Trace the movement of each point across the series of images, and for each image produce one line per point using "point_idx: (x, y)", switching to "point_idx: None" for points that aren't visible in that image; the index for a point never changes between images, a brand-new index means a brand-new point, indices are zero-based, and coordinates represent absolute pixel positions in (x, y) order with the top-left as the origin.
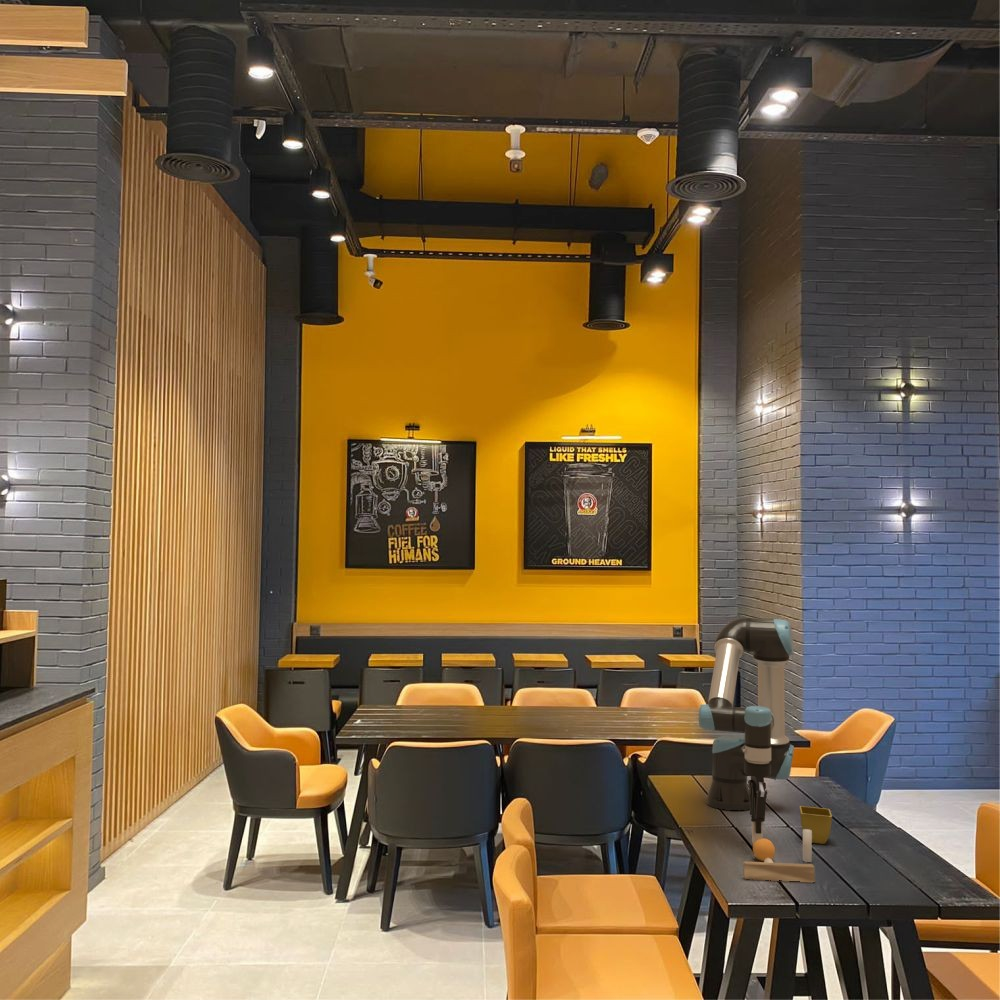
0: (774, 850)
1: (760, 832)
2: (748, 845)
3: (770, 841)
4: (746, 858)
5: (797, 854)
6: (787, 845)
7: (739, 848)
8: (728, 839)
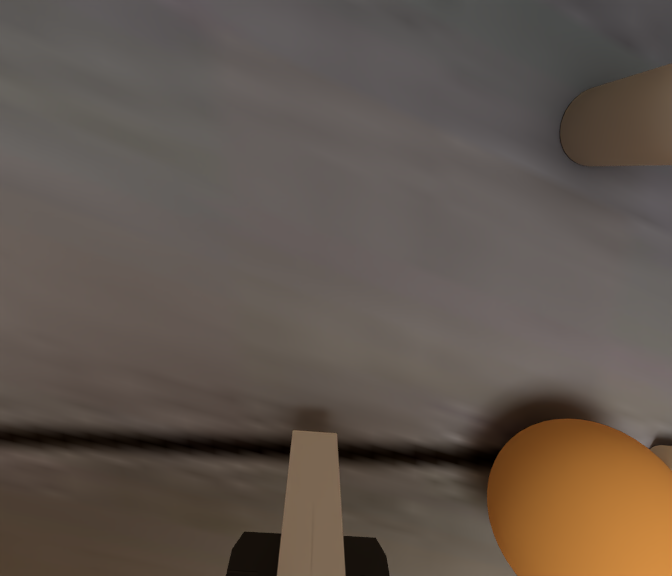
0: (663, 463)
1: (381, 556)
2: (199, 454)
3: (668, 537)
4: (476, 536)
5: (413, 140)
6: (156, 131)
7: (274, 525)
8: (74, 542)
